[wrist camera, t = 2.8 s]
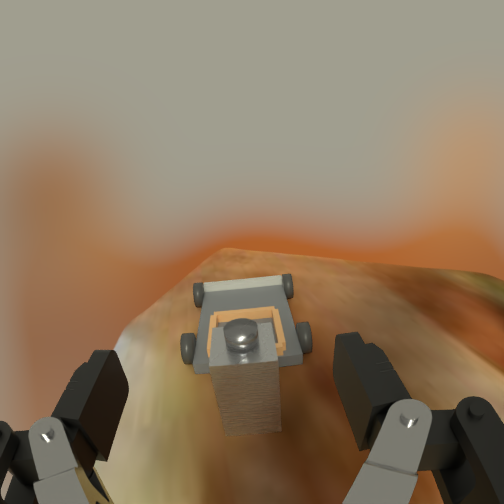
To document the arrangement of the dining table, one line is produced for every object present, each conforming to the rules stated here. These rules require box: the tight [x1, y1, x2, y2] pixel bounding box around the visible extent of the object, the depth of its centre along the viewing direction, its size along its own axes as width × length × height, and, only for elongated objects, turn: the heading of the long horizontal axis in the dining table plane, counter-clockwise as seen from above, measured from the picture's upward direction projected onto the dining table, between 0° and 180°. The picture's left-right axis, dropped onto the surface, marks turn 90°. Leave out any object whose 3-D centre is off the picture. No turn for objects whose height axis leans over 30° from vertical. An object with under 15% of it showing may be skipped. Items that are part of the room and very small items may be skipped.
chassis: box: [180, 274, 312, 374], centre depth 41 cm, size 18×14×4 cm
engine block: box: [209, 318, 282, 436], centre depth 25 cm, size 5×5×10 cm
